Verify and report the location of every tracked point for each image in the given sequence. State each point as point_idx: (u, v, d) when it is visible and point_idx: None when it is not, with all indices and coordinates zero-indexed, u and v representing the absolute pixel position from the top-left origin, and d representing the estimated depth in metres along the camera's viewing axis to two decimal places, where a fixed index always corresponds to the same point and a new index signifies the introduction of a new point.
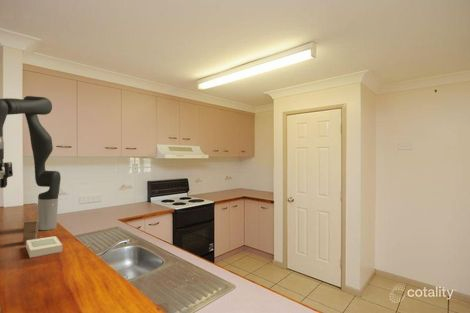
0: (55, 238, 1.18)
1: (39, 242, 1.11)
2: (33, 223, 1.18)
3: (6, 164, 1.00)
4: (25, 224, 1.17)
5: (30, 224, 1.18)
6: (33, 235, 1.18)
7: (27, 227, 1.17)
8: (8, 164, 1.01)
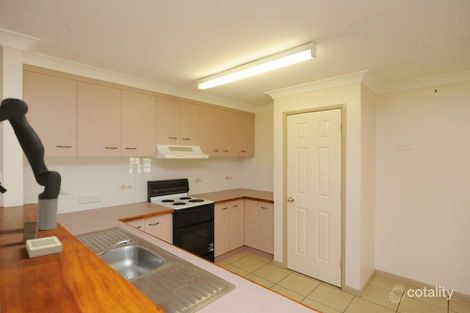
0: (55, 238, 1.18)
1: (39, 242, 1.11)
2: (33, 223, 1.18)
3: None
4: (25, 224, 1.17)
5: (30, 224, 1.18)
6: (33, 235, 1.18)
7: (27, 227, 1.17)
8: None
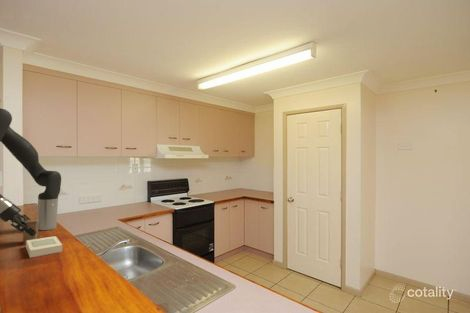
0: (55, 238, 1.18)
1: (39, 242, 1.11)
2: (33, 223, 1.18)
3: (12, 225, 1.12)
4: None
5: (30, 224, 1.18)
6: (34, 235, 1.18)
7: None
8: (13, 225, 1.12)
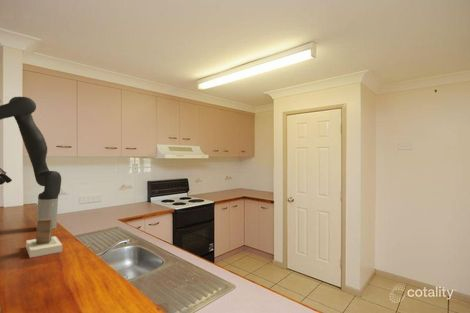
0: (55, 238, 1.18)
1: None
2: (47, 221, 1.10)
3: None
4: (38, 223, 1.08)
5: (43, 223, 1.09)
6: (47, 234, 1.10)
7: (40, 226, 1.09)
8: None
